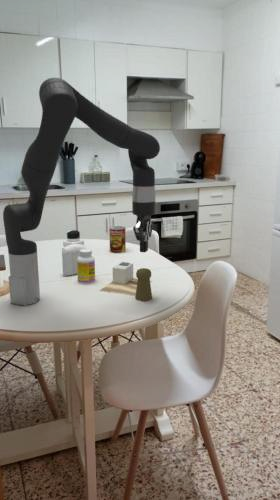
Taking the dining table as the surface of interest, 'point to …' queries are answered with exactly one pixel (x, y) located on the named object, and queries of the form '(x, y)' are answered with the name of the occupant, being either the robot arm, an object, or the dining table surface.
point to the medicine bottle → (73, 238)
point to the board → (122, 288)
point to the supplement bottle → (86, 267)
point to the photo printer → (71, 258)
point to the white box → (122, 273)
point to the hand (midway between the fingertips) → (143, 251)
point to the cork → (143, 285)
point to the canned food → (117, 239)
